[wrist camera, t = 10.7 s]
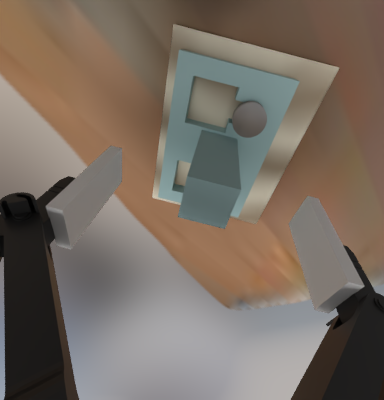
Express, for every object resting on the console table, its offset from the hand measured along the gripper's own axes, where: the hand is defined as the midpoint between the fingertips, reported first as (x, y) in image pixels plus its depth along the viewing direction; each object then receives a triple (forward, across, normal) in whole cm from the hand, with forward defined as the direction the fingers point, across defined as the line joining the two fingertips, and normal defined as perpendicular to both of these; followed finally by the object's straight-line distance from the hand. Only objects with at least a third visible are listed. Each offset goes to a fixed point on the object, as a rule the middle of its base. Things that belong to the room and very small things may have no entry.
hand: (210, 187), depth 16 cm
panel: (+9, 0, -1) cm, 9 cm away
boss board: (+10, +1, -1) cm, 10 cm away
